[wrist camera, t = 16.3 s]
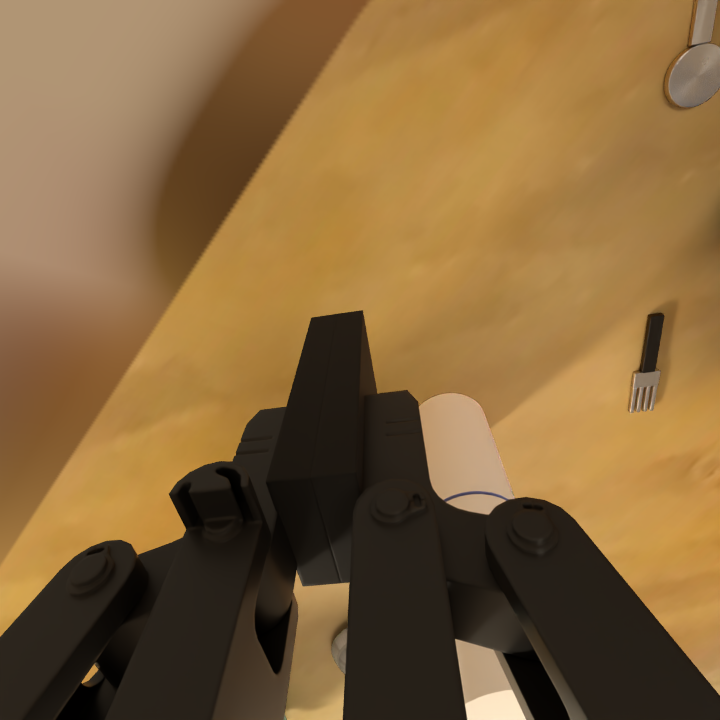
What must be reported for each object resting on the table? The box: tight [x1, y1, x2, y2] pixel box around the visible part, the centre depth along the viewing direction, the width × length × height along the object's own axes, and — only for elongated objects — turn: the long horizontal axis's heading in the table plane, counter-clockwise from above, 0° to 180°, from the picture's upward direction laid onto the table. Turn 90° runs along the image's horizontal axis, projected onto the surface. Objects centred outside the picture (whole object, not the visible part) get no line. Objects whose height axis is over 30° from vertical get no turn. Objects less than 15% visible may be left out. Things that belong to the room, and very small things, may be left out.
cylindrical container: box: [419, 393, 526, 720], centre depth 34 cm, size 7×7×25 cm
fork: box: [628, 313, 664, 413], centre depth 41 cm, size 10×2×1 cm, turn 9°
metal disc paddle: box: [664, 0, 720, 108], centre depth 29 cm, size 10×4×1 cm, turn 9°
